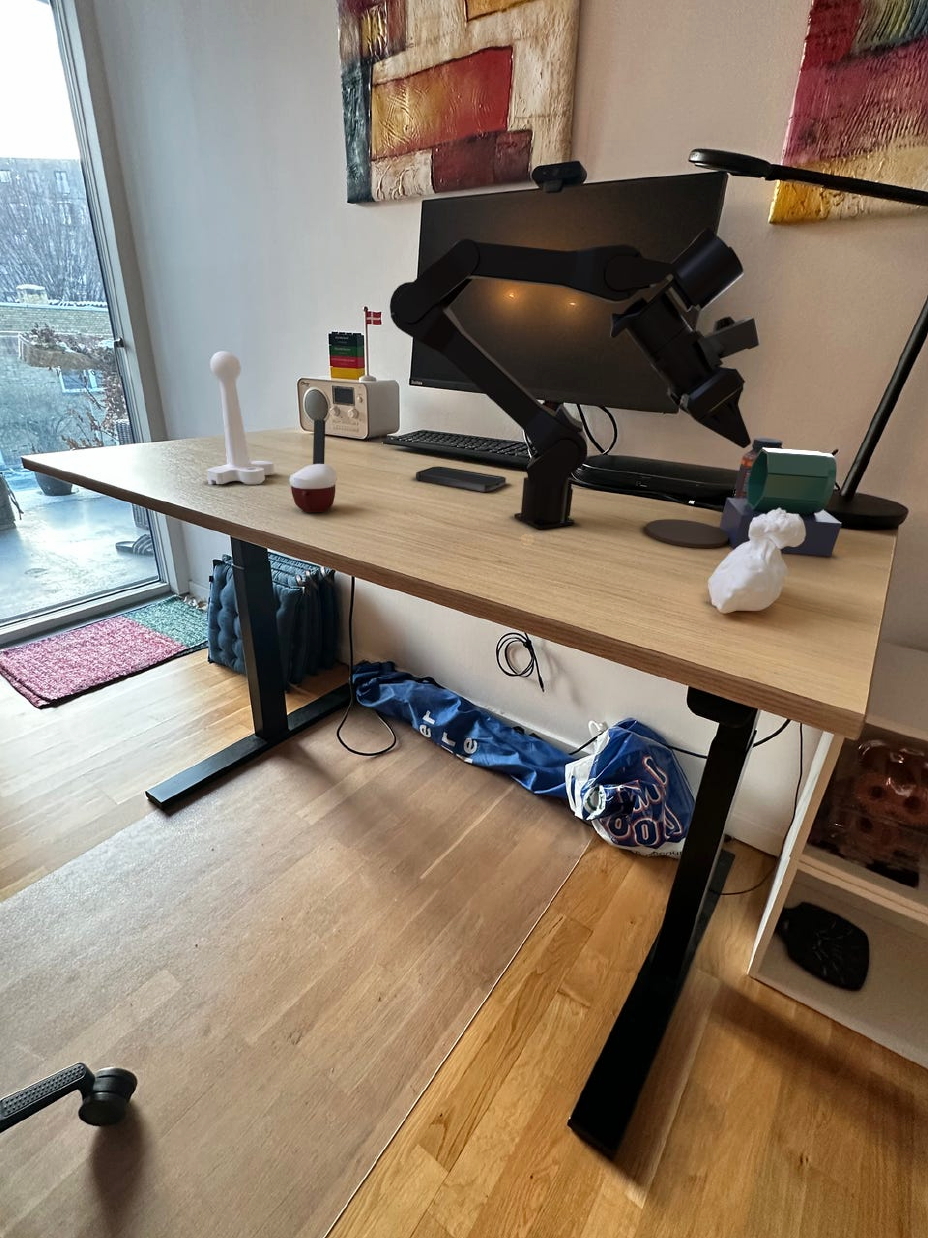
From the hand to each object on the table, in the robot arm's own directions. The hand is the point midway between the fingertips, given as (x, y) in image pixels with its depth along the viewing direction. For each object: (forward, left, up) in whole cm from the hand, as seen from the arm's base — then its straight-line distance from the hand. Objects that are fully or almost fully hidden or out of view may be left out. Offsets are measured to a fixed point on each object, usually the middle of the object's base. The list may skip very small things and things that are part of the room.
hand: (738, 439), depth 75 cm
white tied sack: (-16, -17, -13) cm, 27 cm away
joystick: (-52, +54, -13) cm, 76 cm away
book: (+6, -5, -13) cm, 15 cm away
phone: (-18, +40, -13) cm, 46 cm away
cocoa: (-46, +33, -13) cm, 59 cm away
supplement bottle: (+16, +6, -13) cm, 21 cm away
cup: (+6, -5, -9) cm, 11 cm away
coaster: (-3, +2, -13) cm, 14 cm away
